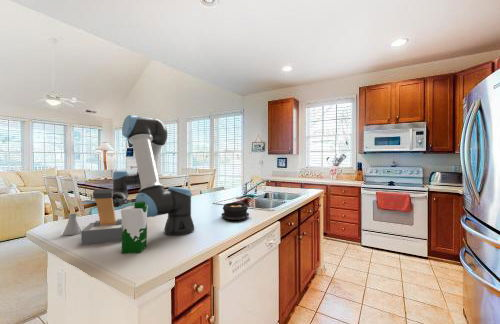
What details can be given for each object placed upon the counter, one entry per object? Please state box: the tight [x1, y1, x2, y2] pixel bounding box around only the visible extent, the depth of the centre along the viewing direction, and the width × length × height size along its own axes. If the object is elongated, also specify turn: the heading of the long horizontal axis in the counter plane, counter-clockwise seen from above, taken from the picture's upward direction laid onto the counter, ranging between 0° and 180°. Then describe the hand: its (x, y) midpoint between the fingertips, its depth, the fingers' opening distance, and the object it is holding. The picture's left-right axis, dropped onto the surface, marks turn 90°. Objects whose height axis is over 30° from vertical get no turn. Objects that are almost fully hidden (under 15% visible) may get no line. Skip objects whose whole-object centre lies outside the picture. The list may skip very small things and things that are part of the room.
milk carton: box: [120, 201, 148, 255], centre depth 94 cm, size 9×9×20 cm
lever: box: [92, 188, 117, 225], centre depth 104 cm, size 3×7×20 cm
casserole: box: [220, 202, 250, 221], centre depth 150 cm, size 25×19×8 cm
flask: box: [62, 212, 82, 236], centre depth 115 cm, size 7×7×10 cm
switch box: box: [80, 218, 122, 246], centre depth 110 cm, size 14×18×8 cm
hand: (106, 207), depth 106 cm, fingers closed
